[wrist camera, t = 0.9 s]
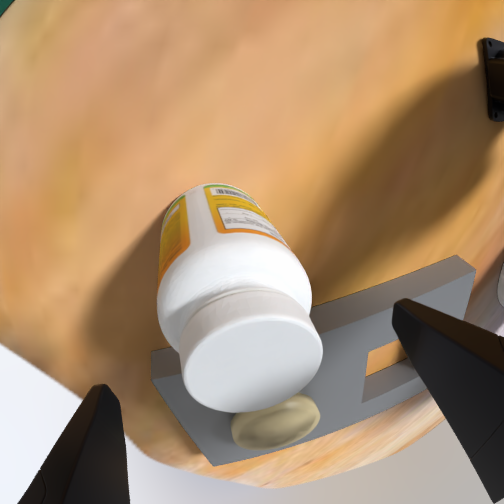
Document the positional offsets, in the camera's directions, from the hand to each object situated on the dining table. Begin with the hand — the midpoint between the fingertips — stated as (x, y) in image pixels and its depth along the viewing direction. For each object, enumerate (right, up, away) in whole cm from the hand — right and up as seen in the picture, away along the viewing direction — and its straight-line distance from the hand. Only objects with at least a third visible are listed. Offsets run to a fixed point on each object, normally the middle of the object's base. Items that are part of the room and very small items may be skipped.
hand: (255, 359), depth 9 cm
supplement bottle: (-2, +4, +8) cm, 9 cm away
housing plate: (+6, -6, +15) cm, 18 cm away
